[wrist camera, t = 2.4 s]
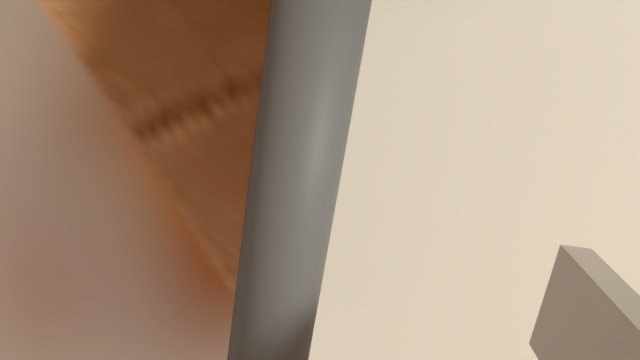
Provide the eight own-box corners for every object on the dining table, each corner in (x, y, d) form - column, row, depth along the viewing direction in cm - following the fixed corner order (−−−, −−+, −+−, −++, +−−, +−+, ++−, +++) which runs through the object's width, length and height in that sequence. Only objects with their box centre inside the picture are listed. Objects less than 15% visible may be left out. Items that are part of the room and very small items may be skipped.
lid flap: (300, -111, 19) (288, -169, 11) (773, -29, 20) (1064, -30, 12) (240, 341, 24) (205, 511, 17) (611, 389, 25) (740, 571, 17)
